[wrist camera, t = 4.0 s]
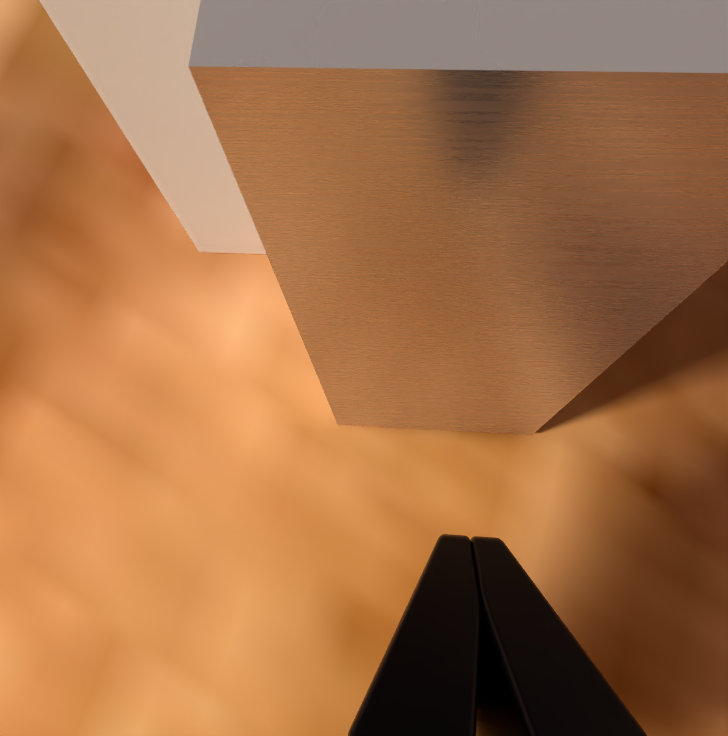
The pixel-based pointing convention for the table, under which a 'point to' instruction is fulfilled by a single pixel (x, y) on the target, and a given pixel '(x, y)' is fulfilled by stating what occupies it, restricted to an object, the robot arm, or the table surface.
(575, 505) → the table surface
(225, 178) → the housing
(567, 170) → the light grey rectangular block
